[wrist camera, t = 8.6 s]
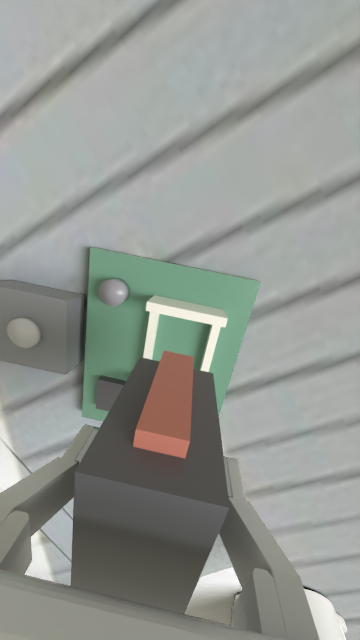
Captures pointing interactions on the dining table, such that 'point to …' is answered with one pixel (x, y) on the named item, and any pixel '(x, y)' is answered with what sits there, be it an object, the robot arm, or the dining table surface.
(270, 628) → the robot arm
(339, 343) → the dining table surface
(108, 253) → the board
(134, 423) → the plug
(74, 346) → the gray push button box
